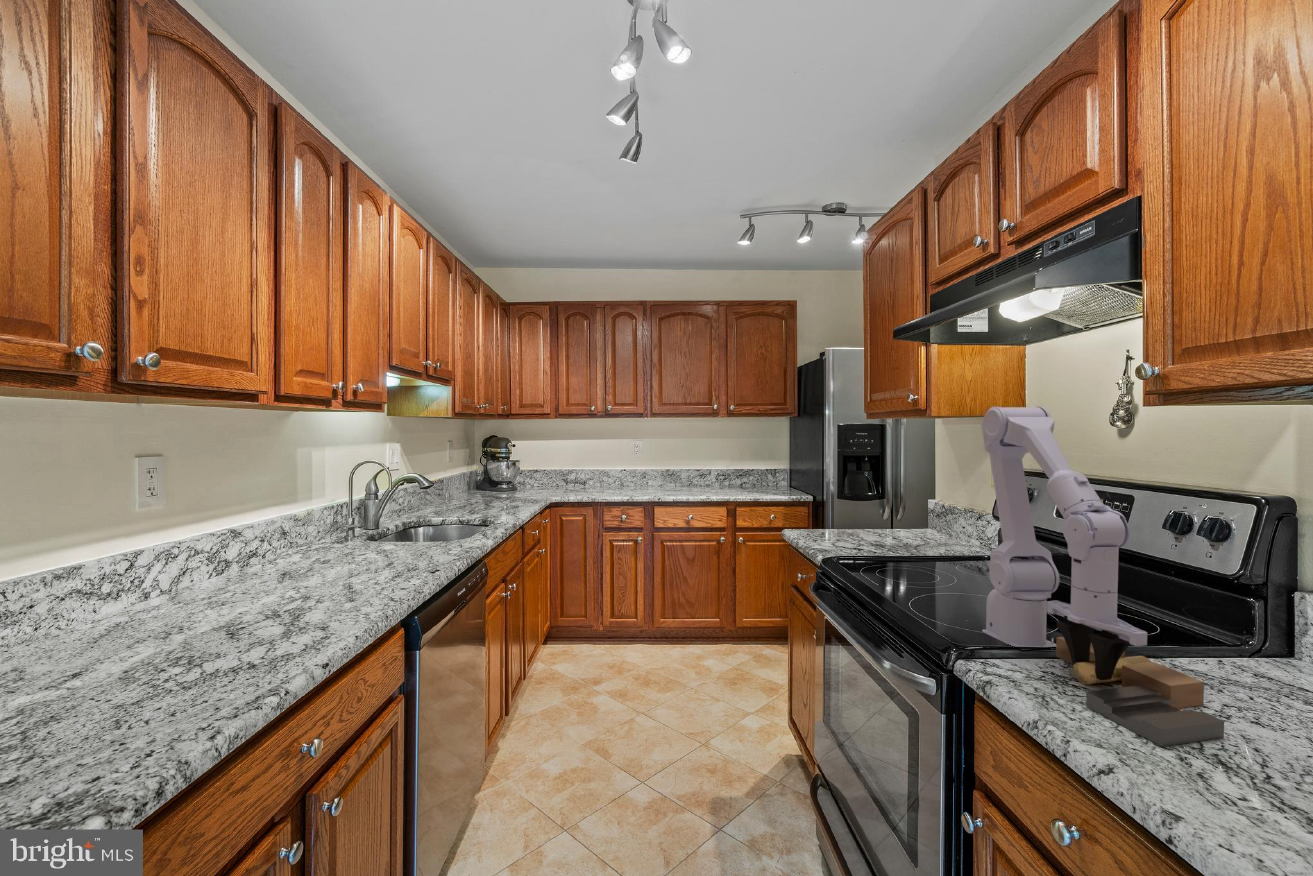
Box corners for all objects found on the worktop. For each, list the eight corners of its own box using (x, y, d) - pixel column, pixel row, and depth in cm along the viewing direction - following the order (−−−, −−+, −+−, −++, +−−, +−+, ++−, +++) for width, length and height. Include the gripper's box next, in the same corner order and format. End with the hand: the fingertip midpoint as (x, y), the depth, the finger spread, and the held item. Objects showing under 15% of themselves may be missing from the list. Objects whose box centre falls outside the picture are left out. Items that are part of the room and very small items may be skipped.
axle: (1091, 688, 85) (1092, 668, 85) (1072, 678, 88) (1073, 659, 88) (1154, 681, 87) (1155, 661, 87) (1133, 671, 91) (1134, 652, 90)
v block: (1086, 706, 80) (1086, 691, 79) (1142, 699, 81) (1142, 685, 81) (1161, 746, 70) (1162, 729, 70) (1223, 737, 72) (1224, 721, 72)
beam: (1056, 656, 96) (1056, 637, 96) (1084, 653, 98) (1085, 634, 97) (1170, 709, 79) (1170, 685, 79) (1203, 705, 80) (1204, 682, 80)
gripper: (1032, 576, 93) (1030, 656, 93) (1120, 604, 79) (1117, 698, 79) (1067, 574, 94) (1065, 652, 95) (1159, 601, 80) (1157, 693, 80)
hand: (1091, 673), depth 87 cm, fingers closed on axle, 3 cm apart
